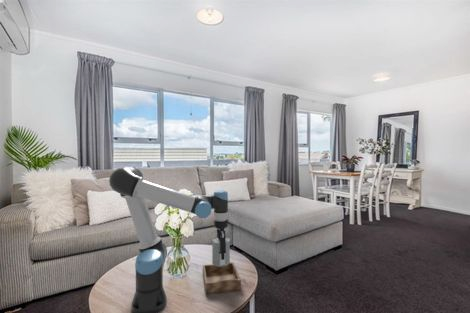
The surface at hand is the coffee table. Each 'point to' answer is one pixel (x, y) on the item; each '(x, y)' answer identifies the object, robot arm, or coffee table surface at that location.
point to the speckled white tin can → (216, 251)
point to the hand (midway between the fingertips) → (220, 260)
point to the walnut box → (221, 278)
